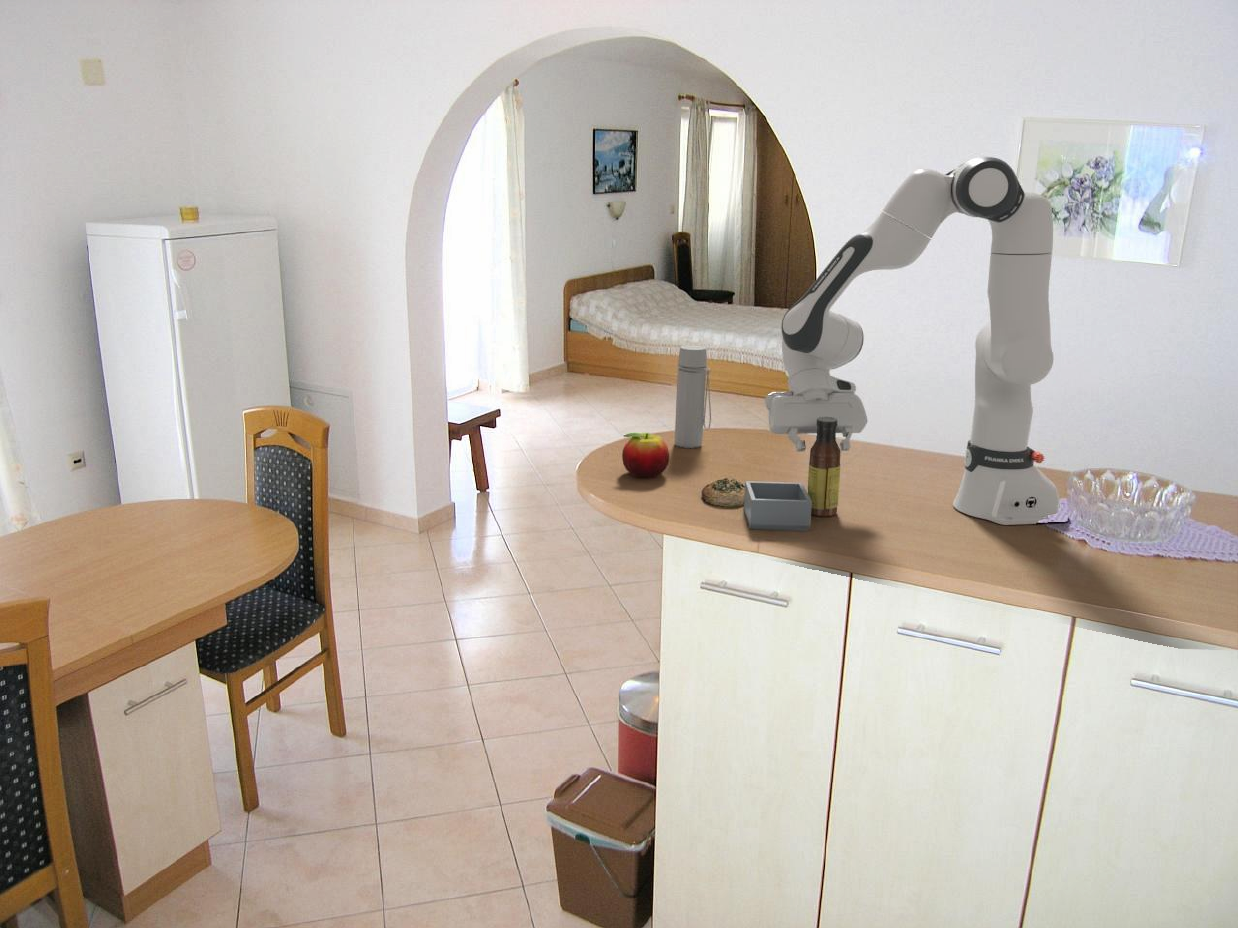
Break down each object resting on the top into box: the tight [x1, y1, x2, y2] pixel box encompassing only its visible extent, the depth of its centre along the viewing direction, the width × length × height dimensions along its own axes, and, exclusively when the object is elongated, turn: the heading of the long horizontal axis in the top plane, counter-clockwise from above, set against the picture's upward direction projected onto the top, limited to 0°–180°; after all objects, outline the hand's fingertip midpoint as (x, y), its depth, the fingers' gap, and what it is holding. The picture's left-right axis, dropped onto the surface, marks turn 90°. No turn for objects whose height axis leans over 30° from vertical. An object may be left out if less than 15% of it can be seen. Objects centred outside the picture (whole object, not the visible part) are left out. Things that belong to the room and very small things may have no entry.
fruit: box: [621, 432, 670, 479], centre depth 215 cm, size 11×11×10 cm
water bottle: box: [674, 344, 712, 449], centre depth 237 cm, size 9×8×25 cm
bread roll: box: [701, 477, 745, 508], centre depth 201 cm, size 11×11×5 cm
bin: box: [743, 480, 812, 532], centre depth 190 cm, size 12×12×6 cm
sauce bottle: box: [807, 417, 842, 517], centre depth 192 cm, size 7×6×20 cm
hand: (823, 449), depth 193 cm, fingers open, 8 cm apart
